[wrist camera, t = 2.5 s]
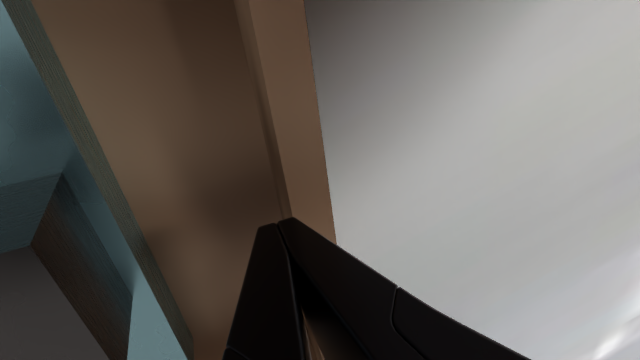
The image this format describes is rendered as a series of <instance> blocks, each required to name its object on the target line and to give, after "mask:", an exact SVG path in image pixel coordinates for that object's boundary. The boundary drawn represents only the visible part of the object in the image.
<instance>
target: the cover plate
mask: <svg viewBox="0 0 640 360" xmlns="http://www.w3.org/2000/svg"><path fill="white" fill-rule="evenodd" d="M0 360H194V346H193V336H192V334H191V332H190V330H189V328H188V326H187V324H186V322H185V320H184V318H183V316H182V314H181V312H180V309H179V307H178V305H177V303H176V301H175V299H174V297H173V295H172V293H171V291H170V289H169V287H168V284H167V282H166V280H165V278H164V276H163V274H162V272H161V270H160V268H159V266H158V264H157V262H156V260H155V257H154V255H153V253H152V251H151V249H150V247H149V245H148V243H147V241H146V239H145V237H144V235H143V232H142V230H141V228H140V226H139V224H138V222H137V220H136V218H135V216H134V214H133V212H132V210H131V208H130V205H129V203H128V201H127V199H126V197H125V195H124V193H123V191H122V189H121V187H120V185H119V183H118V180H117V178H116V176H115V174H114V172H113V170H112V168H111V166H110V164H109V162H108V160H107V158H106V156H105V153H104V151H103V149H102V147H101V145H100V143H99V141H98V139H97V137H96V135H95V133H94V131H93V129H92V126H91V124H90V122H89V120H88V118H87V116H86V114H85V112H84V110H83V108H82V106H81V104H80V101H79V99H78V97H77V95H76V93H75V91H74V89H73V87H72V85H71V83H70V81H69V79H68V77H67V74H66V72H65V70H64V68H63V66H62V64H61V62H60V60H59V58H58V56H57V54H56V52H55V49H54V47H53V45H52V43H51V41H50V39H49V37H48V35H47V33H46V31H45V29H44V27H43V25H42V22H41V20H40V18H39V16H38V14H37V12H36V10H35V8H34V6H33V4H32V2H31V0H0Z"/></svg>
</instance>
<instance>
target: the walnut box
mask: <svg viewBox="0 0 640 360" xmlns="http://www.w3.org/2000/svg"><path fill="white" fill-rule="evenodd" d="M31 2H32V4H33V6H34V8H35V10H36V12H37V14H38V16H39V18H40V20H41V22H42V25H43V27H44V29H45V31H46V33H47V35H48V37H49V39H50V41H51V43H52V45H53V47H54V49H55V52H56V54H57V56H58V58H59V60H60V62H61V64H62V66H63V68H64V70H65V72H66V74H67V77H68V79H69V81H70V83H71V85H72V87H73V89H74V91H75V93H76V95H77V97H78V99H79V101H80V104H81V106H82V108H83V110H84V112H85V114H86V116H87V118H88V120H89V122H90V124H91V126H92V129H93V131H94V133H95V135H96V137H97V139H98V141H99V143H100V145H101V147H102V149H103V151H104V153H105V156H106V158H107V160H108V162H109V164H110V166H111V168H112V170H113V172H114V174H115V176H116V178H117V180H118V183H119V185H120V187H121V189H122V191H123V193H124V195H125V197H126V199H127V201H128V203H129V205H130V208H131V210H132V212H133V214H134V216H135V218H136V220H137V222H138V224H139V226H140V228H141V230H142V232H143V235H144V237H145V239H146V241H147V243H148V245H149V247H150V249H151V251H152V253H153V255H154V257H155V260H156V262H157V264H158V266H159V268H160V270H161V272H162V274H163V276H164V278H165V280H166V282H167V284H168V287H169V289H170V291H171V293H172V295H173V297H174V299H175V301H176V303H177V305H178V307H179V309H180V312H181V314H182V316H183V318H184V320H185V322H186V324H187V326H188V328H189V330H190V332H191V334H192V336H193V346H194V360H222V357H223V353H224V350H225V349H226V343H227V339H228V336H229V332H230V328H231V325H232V321H233V317H234V313H235V310H236V306H237V302H238V299H239V295H240V291H241V288H242V284H243V280H244V276H245V273H246V269H247V265H248V262H249V258H250V254H251V251H252V247H253V243H254V239H255V236H256V232H257V229H258V228H259V227H260V226H263V225H267V224H270V223H276V224H277V222H278V221H280V220H283V219H287V218H290V217H295V218H297V219H298V220H300V221H301V222H303V223H304V224H306V225H307V226H309V227H310V228H312V229H313V230H315V231H316V232H318V233H319V234H321V235H322V236H324V237H325V238H327V239H328V240H330V241H331V242H333V243H334V244H336V245H337V243H336V236H335V229H334V221H333V214H332V206H331V199H330V192H329V184H328V177H327V169H326V162H325V155H324V147H323V140H322V132H321V125H320V118H319V110H318V103H317V95H316V88H315V81H314V73H313V66H312V58H311V51H310V44H309V36H308V29H307V21H306V14H305V7H304V0H31ZM302 313H303V311H302ZM303 317H304V322H305V326H306V332H307V337H308V342H309V347H310V353H311V358H312V360H325V358H324V356H323V354H322V352H321V350H320V348H319V346H318V344H317V342H316V340H315V338H314V336H313V333H312V331H311V329H310V327H309V325H308V323H307V321H306V318H305V316H304V314H303Z"/></svg>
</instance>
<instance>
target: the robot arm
mask: <svg viewBox="0 0 640 360" xmlns="http://www.w3.org/2000/svg"><path fill="white" fill-rule="evenodd" d="M302 311H303V313H302ZM303 314H304V316H305V318H306V321H307V323H308V325H309V327H310V329H311V331H312V333H313V336H314V338H315V340H316V342H317V344H318V346H319V348H320V350H321V352H322V354H323V356H324V358H325V360H531V359H529V358H527V357H525V356H523V355H521V354H519V353H517V352H515V351H513V350H511V349H509V348H507V347H505V346H504V345H502V344H500V343H498V342H496V341H494V340H492V339H490V338H488V337H486V336H484V335H482V334H480V333H478V332H476V331H475V330H473V329H471V328H469V327H467V326H465V325H463V324H461V323H459V322H457V321H456V320H454V319H452V318H450V317H448V316H446V315H445V314H443V313H441V312H439V311H437V310H435V309H434V308H432V307H431V306H429V305H427V304H426V303H424V302H423V301H421V300H419V299H418V298H416V297H415V296H413V295H411V294H410V293H408V292H407V291H405V290H404V289H402V288H401V287H398V286H397V285H396V284H395V283H393V282H392V281H390V280H389V279H387V278H386V277H384V276H383V275H381V274H380V273H378V272H377V271H375V270H374V269H372V268H371V267H369V266H368V265H366V264H365V263H363V262H362V261H360V260H359V259H357V258H355V257H354V256H352V255H351V254H349V253H348V252H346V251H345V250H343V249H342V248H340V247H339V246H337V245H336V244H334V243H333V242H331V241H330V240H328V239H327V238H325V237H324V236H322V235H321V234H319V233H318V232H316V231H315V230H313V229H312V228H310V227H309V226H307V225H306V224H304V223H303V222H301V221H300V220H298V219H297V218H295V217H290V218H287V219H283V220H280V221H278V222H277V224H276V223H270V224H267V225H263V226H260V227H259V228H258V229H257V232H256V236H255V239H254V243H253V247H252V251H251V254H250V258H249V262H248V265H247V269H246V273H245V276H244V280H243V284H242V288H241V291H240V295H239V299H238V302H237V306H236V310H235V313H234V317H233V321H232V325H231V328H230V332H229V336H228V339H227V343H226V349H225V350H224V353H223V357H222V360H312V358H311V353H310V347H309V342H308V337H307V332H306V326H305V322H304V317H303Z"/></svg>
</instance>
